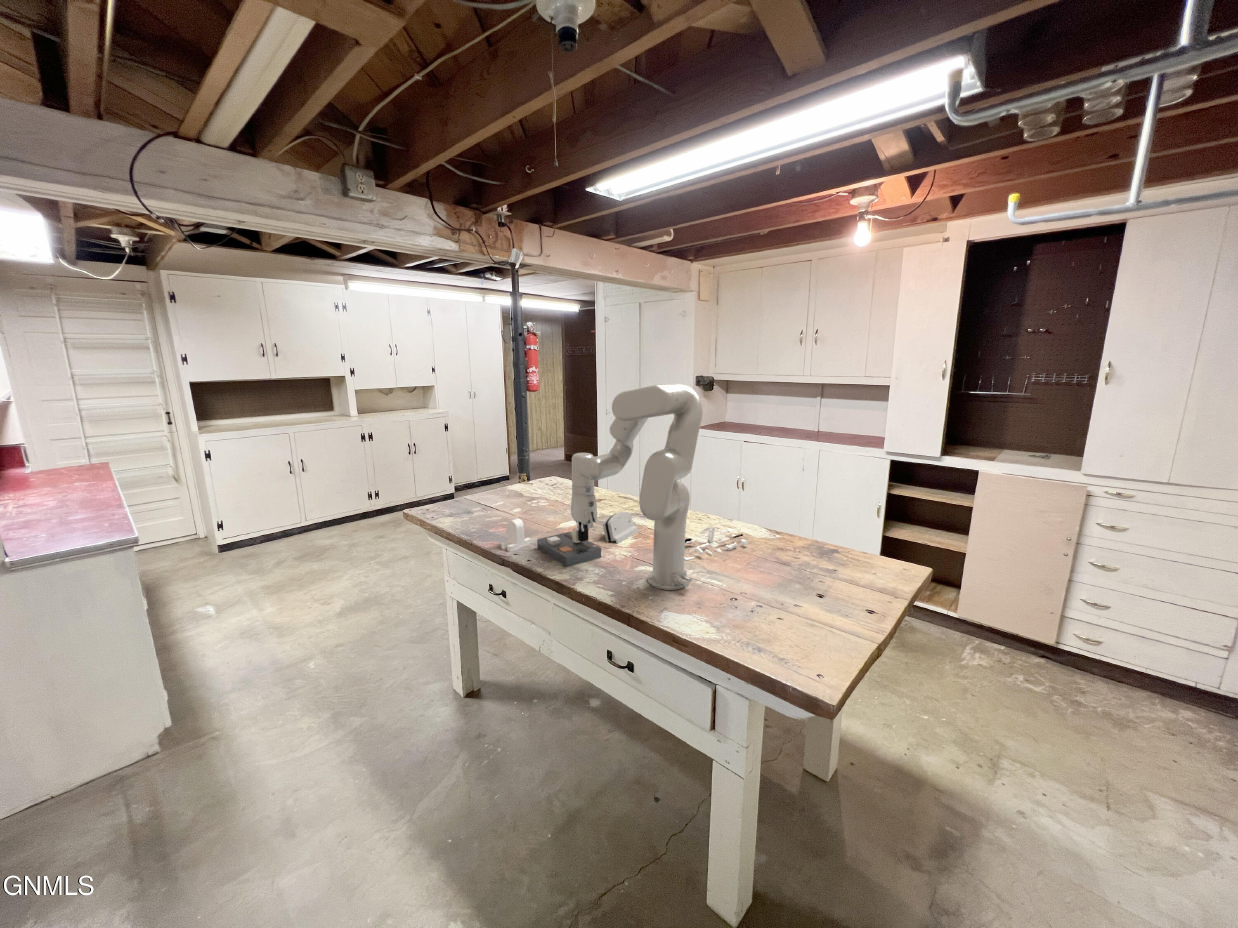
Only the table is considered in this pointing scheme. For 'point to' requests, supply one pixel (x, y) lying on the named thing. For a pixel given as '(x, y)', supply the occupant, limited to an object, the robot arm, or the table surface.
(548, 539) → the grey key
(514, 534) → the cable organizer
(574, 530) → the cream tall block
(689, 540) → the miniature set
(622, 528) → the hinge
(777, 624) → the table surface
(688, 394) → the robot arm
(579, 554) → the control panel
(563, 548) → the terracotta key
